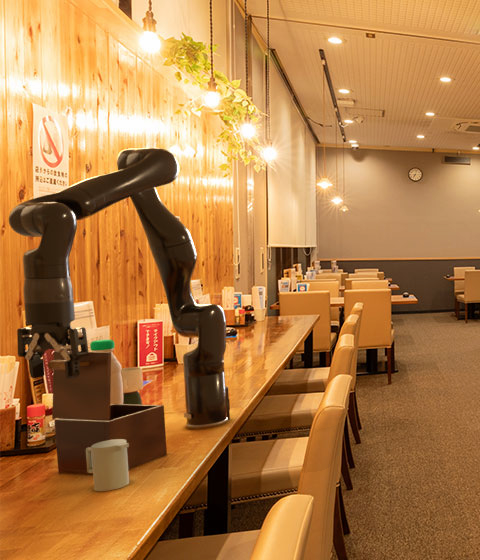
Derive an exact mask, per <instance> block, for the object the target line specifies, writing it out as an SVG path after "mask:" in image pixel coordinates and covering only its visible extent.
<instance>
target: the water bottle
mask: <svg viewBox="0 0 480 560" xmlns="http://www.w3.org/2000/svg"><path fill="white" fill-rule="evenodd" d="M115 347H116V345H115V341H114V340H113V339H98V340H97V339H96V340H93V341H90V345H89V349H90V350H91V352H111V391H110V405H111V404H123V383H122V376H121V369H122V364H121V363H120V361H119V360H118V358H117V356H116V355H114V353H113V351H114V350H115Z"/></svg>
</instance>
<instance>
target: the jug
mask: <svg viewBox="0 0 480 560" xmlns="http://www.w3.org/2000/svg"><path fill="white" fill-rule="evenodd" d="M127 447H129V443H127V441H126V440H125V439H114V440H107V441H102V442H99V443H96V444H93V445H92V446H91V447H88V448H86V461H87V472H88V473H93V474H92V477H93V489H94V491H96V492H108V491H114V490H118V489H121V488H124V487H126V486H128V485H129V484H130V473H129V469H128V456H127Z"/></svg>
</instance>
